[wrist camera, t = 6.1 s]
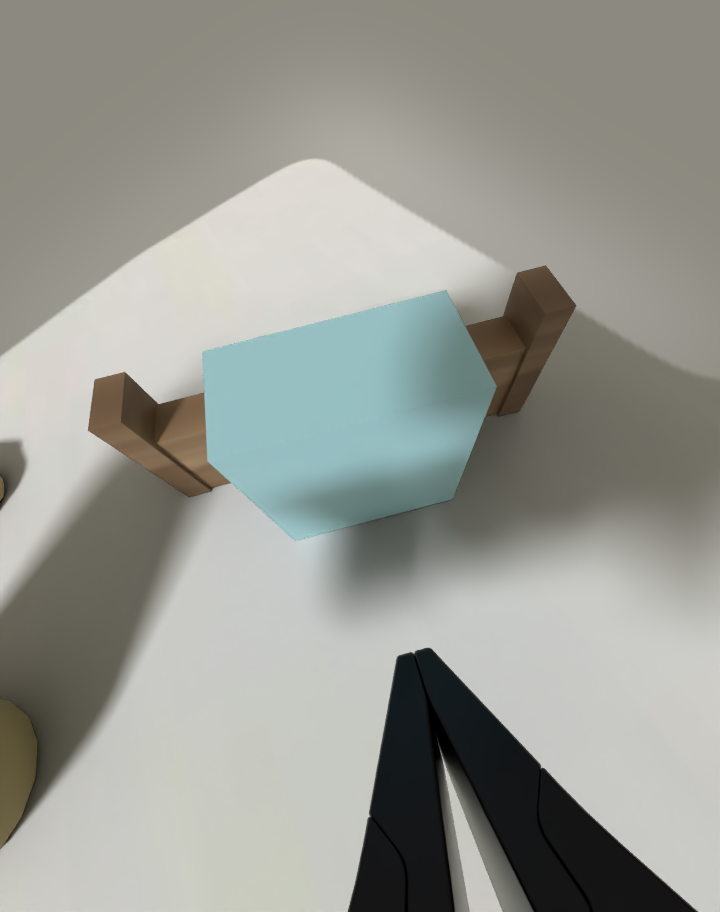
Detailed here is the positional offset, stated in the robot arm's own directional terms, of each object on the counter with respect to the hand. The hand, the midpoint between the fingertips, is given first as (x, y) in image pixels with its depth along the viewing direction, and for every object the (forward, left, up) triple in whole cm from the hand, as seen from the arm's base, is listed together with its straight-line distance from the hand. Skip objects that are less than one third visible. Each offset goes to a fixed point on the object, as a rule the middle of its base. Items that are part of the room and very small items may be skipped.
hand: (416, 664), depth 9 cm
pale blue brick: (+7, +7, -7) cm, 12 cm away
